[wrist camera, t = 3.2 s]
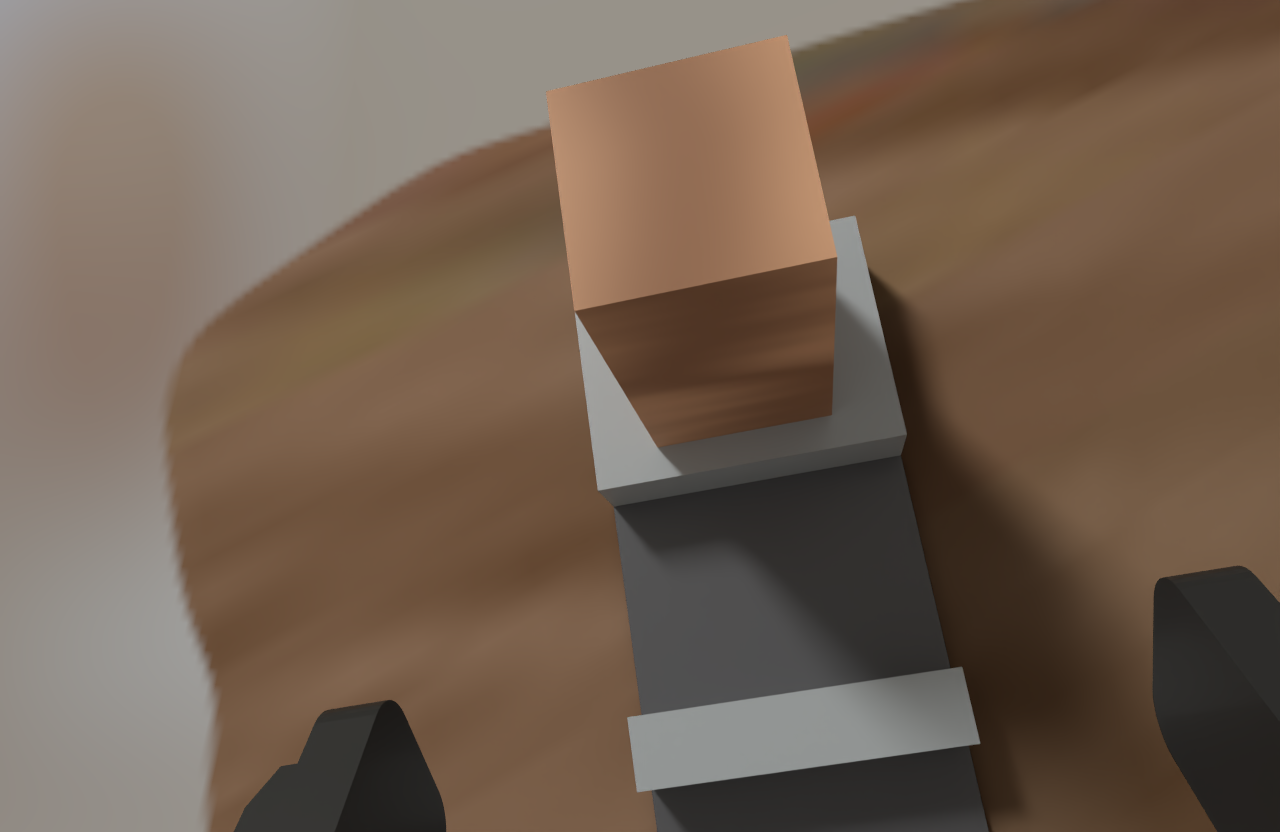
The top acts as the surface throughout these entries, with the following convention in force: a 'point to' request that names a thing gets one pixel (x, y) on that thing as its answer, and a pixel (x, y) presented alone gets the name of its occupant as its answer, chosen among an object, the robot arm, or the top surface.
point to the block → (700, 240)
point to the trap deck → (787, 609)
